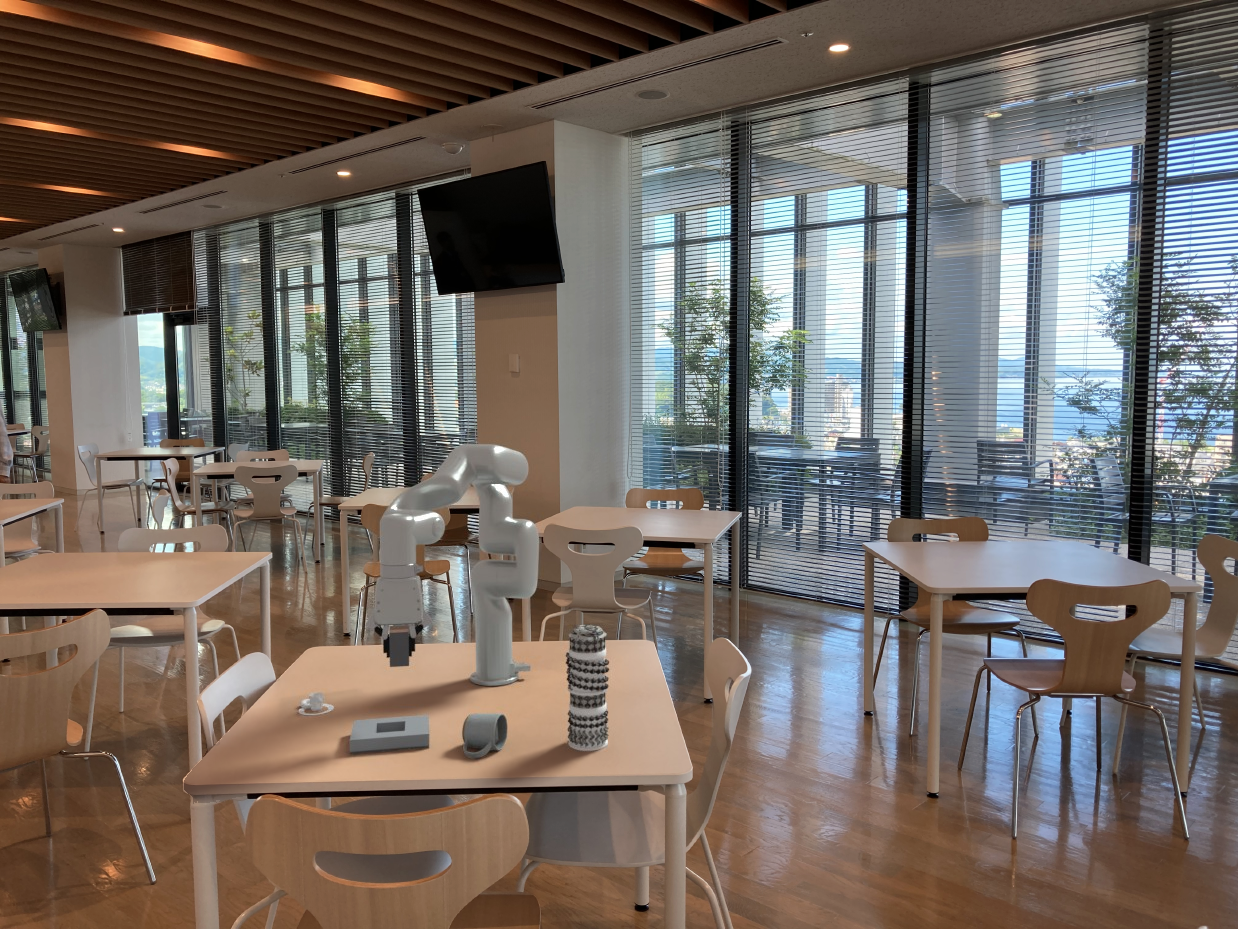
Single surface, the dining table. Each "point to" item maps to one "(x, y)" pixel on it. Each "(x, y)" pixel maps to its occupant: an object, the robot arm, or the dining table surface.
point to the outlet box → (389, 734)
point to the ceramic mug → (484, 733)
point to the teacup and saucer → (314, 704)
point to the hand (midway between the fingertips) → (399, 654)
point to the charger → (399, 645)
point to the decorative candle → (587, 688)
